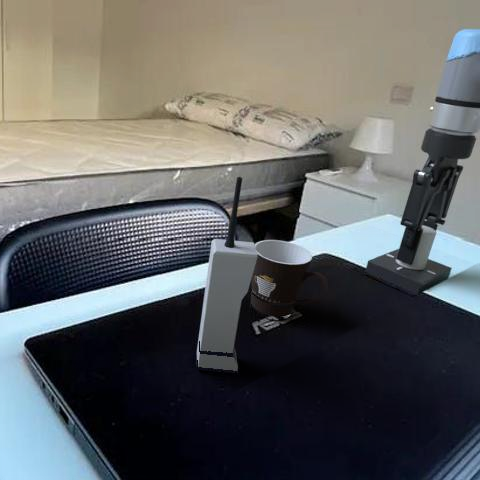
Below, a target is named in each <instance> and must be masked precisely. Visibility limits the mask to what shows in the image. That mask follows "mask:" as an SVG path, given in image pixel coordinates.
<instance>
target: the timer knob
mask: <svg viewBox="0 0 480 480" xmlns="http://www.w3.org/2000/svg"><path fill="white" fill-rule="evenodd" d="M404 227H405V228H406V226H404ZM405 228H404V229H405ZM421 230H423V233H422V236H421V239H420V242H419V245H418V248H417V252H416V255H415V258H414V261H413V264H412V265H409V264H407V263H404V262H402V261H400V260H397V259H396V262H397V263H398V264H399V265H401V266H403V267H406V268H409V269H414V270H423V269H424V268H425V266H426V263H427V260H428V259H429V257H430V254H431V250H432V248H433V245H434V242H435V239H436V235H437V230H436V231H435V230H434V229H432V228H430V227H427V226H424V225H422V228H421ZM402 238H403V236H402V237H401V239H402ZM399 248H400V246H399ZM399 248H398V249H399ZM396 258H397V257H396Z"/></svg>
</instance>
